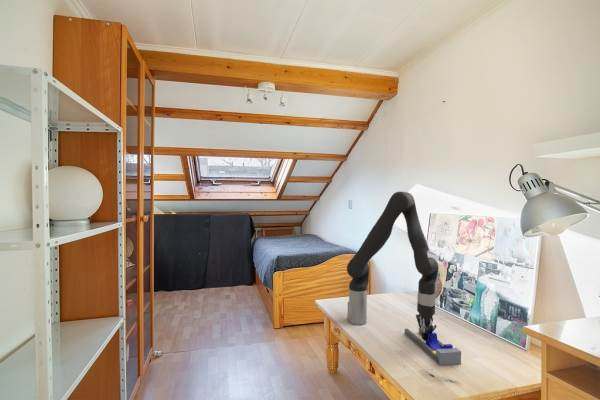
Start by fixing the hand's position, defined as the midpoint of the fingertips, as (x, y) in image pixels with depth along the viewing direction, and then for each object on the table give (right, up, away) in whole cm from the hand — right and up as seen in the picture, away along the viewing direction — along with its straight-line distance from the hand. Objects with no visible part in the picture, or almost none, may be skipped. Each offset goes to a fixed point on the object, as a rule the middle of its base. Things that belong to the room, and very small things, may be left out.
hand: (425, 339), depth 141 cm
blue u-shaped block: (+2, -2, -9) cm, 9 cm away
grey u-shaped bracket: (0, -2, -3) cm, 3 cm away
